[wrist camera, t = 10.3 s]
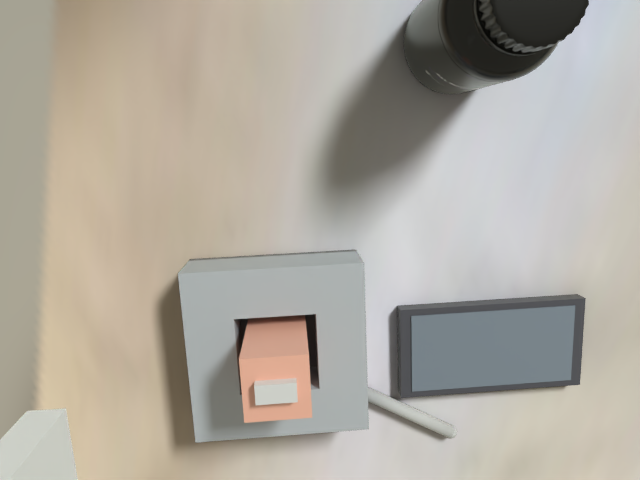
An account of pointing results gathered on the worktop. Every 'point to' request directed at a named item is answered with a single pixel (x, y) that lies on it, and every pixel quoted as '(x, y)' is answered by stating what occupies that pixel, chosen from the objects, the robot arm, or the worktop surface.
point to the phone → (489, 345)
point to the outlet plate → (273, 301)
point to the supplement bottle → (484, 40)
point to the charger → (275, 369)
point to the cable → (411, 413)
